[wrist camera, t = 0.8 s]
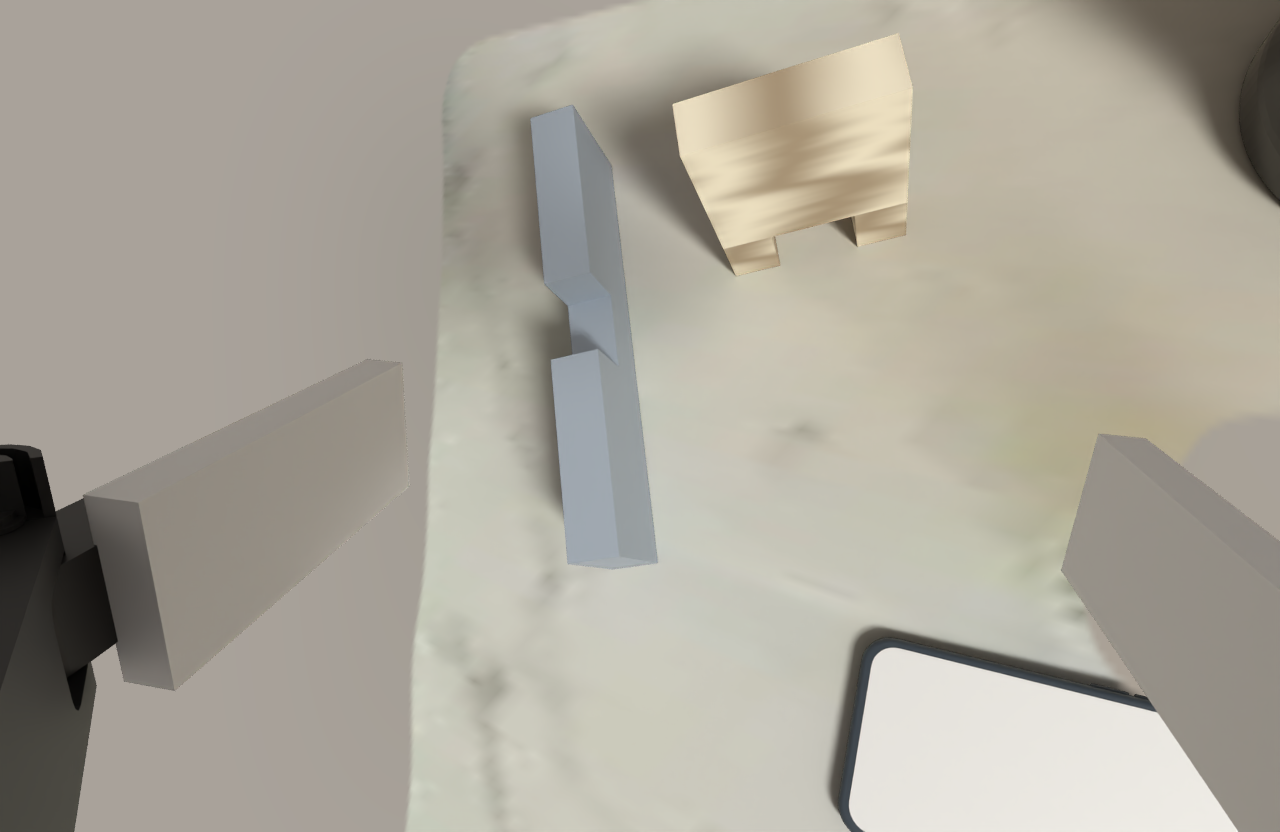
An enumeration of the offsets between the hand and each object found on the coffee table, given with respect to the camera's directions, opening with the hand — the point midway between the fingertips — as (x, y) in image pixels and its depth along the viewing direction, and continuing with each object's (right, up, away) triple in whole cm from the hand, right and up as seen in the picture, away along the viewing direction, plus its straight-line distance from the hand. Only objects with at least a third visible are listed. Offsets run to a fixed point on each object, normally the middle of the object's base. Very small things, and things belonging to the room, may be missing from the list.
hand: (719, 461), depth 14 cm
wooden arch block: (+8, +11, +26) cm, 29 cm away
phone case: (+16, -15, +18) cm, 28 cm away
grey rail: (-3, +4, +28) cm, 29 cm away
